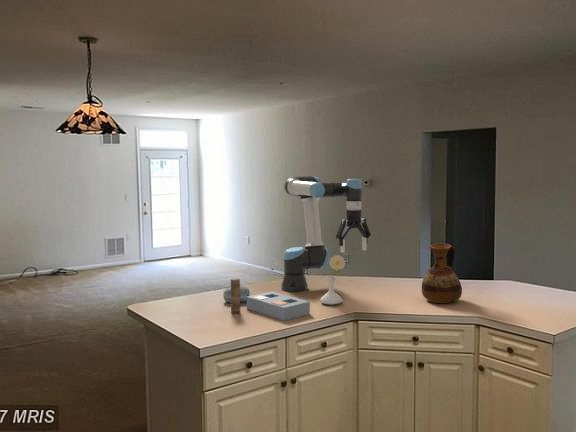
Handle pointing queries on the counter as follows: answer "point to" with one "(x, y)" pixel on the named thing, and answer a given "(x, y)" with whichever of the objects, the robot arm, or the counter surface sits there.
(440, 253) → the ceramic pitcher
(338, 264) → the flower in vase
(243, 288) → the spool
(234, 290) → the peg
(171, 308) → the counter surface
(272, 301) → the socket block
